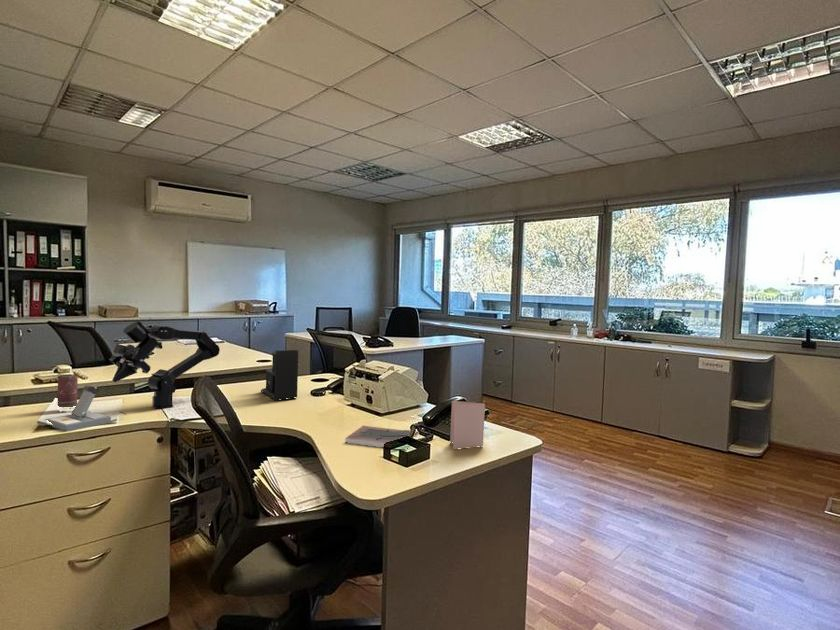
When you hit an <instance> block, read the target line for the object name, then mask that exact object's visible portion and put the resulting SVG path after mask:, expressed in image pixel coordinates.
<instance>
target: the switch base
mask: <svg viewBox="0 0 840 630" xmlns="http://www.w3.org/2000/svg"><path fill="white" fill-rule="evenodd" d="M46 420H48V421H49V422H51V423H52V424H53V426H52V427H51V428H54V429H57V430H61V431H63V432H71V431H75V430H76V431H77V430H81V429H85V428H90V427H96V426H99V425H104V424H105V425H106V424H109V423H111V422H112V417H111V416H110V415H106V414H101V413H98V412H95V411H90V410H87V412H86V417H84V418H81V417H77V416H74V415H72V413H71V414H67V415H61V416H56V417H50V418H45V421H46Z"/></svg>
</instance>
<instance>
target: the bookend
mask: <svg viewBox="0 0 840 630" xmlns="http://www.w3.org/2000/svg"><path fill="white" fill-rule="evenodd" d="M271 354H272V355H271V356H272V360H271V361H272V364H271V365H272V366H271V367H272V368H268V369H265V388H261V389H260V392H261V391H263V392H264V393H265V394H267V395H268V396H270V397H272V398H273V399H274V400H273V399H272V398H271V399H272V400H273V401H275V400H277V401H280V400H279V399H286V398H294V397H297V398H298V382H299V381H298V378H299V377H298V375H299V349H287V350H286V349H283V350H278V349H277V350H275V352H274V351H273V352H272V353H271ZM264 393H263V394H264ZM265 394H264V395H265ZM267 395H266V396H267ZM268 396H267V397H268ZM270 397H269V398H270Z"/></svg>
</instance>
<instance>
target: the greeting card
mask: <svg viewBox="0 0 840 630" xmlns="http://www.w3.org/2000/svg"><path fill="white" fill-rule="evenodd" d="M485 410H486V403H480V402H472V401H471V402H469V401H462V400H461V401H459V400H451V414H450V415H451V416H450V417H451V418H450V432H449V433H450V437H449V438H450V439H449V443H450V442H453V444H452V450H453V449H458V448H466V447H477V446H483V447H484V436H485V435H484V433H485V431H484V430H485ZM458 450H459V449H458Z"/></svg>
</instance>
